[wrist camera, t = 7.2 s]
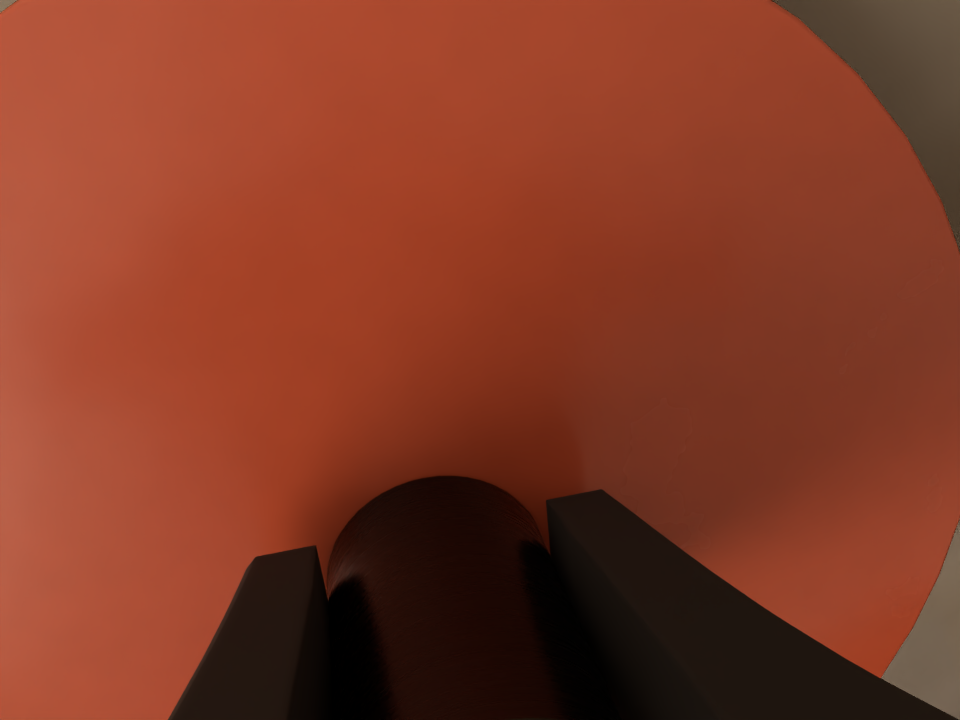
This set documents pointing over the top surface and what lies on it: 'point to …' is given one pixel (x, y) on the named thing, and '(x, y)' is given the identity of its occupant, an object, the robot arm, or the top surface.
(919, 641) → the top surface
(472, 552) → the lid
